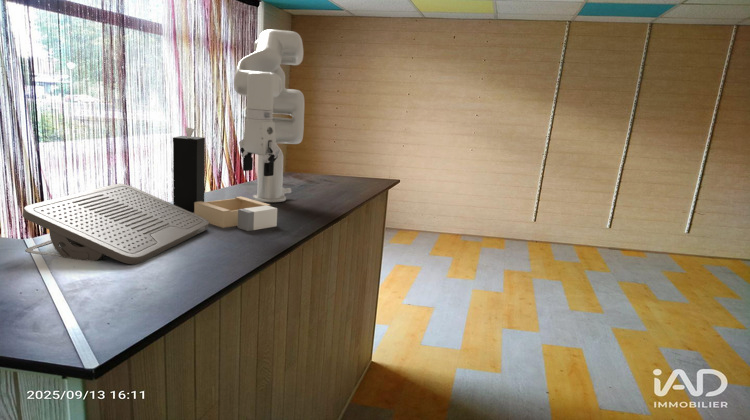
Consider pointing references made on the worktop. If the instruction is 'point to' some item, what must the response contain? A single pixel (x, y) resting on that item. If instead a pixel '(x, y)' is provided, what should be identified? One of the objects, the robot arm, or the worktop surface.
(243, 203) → the carton
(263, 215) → the capped box
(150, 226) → the foot rest
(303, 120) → the robot arm
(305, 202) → the worktop surface
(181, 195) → the tissue box
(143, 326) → the worktop surface
